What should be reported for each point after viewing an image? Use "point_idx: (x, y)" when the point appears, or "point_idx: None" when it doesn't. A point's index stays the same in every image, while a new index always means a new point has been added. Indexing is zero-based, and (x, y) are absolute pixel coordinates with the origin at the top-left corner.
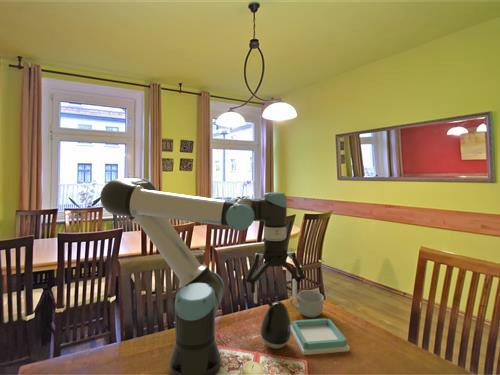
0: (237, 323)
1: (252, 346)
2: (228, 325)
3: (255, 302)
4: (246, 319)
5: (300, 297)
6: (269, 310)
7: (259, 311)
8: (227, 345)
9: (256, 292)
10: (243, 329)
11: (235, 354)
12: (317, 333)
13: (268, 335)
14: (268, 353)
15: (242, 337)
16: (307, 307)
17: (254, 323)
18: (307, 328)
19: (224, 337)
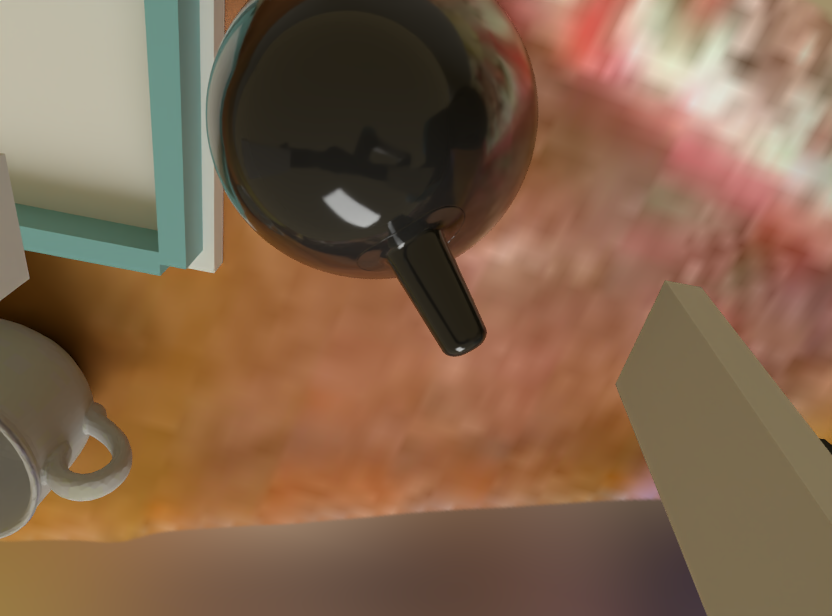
0: (548, 413)
1: (574, 141)
2: (613, 411)
3: (698, 294)
4: (473, 434)
5: (30, 493)
6: (489, 140)
7: (358, 482)
8: (737, 212)
9: (761, 408)
10: (541, 345)
11: (744, 86)
12: (16, 99)
13: (512, 22)
14: None
15: (590, 266)
16: (1, 369)
17: (441, 382)
18: (84, 190)
19: None
